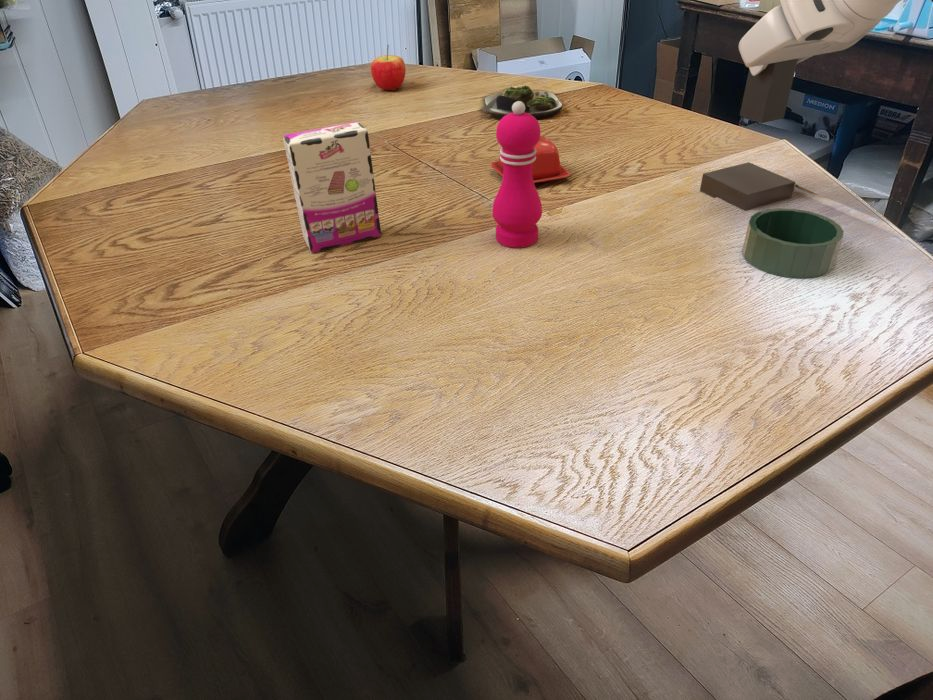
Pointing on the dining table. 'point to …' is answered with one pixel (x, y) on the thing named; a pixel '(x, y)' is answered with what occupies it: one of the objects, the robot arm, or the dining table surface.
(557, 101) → the salad plate
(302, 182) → the candy bar box
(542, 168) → the butter dish
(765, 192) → the stand
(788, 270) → the tin
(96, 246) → the dining table surface
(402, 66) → the apple
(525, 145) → the pepper mill
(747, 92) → the dark brown block
